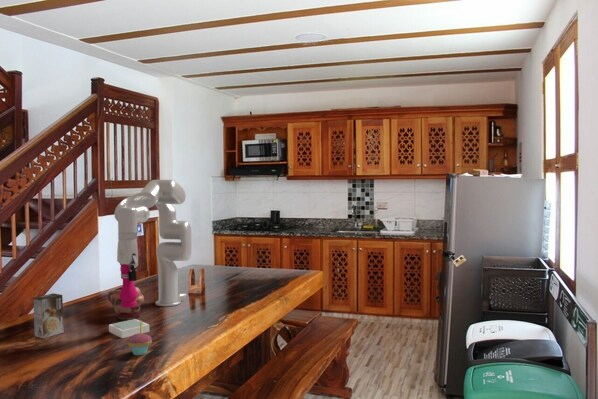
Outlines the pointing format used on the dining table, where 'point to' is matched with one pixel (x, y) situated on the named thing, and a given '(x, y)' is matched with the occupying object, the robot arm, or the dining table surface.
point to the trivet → (128, 328)
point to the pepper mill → (127, 289)
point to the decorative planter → (125, 312)
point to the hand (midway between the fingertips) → (128, 279)
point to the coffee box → (48, 315)
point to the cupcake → (139, 342)
